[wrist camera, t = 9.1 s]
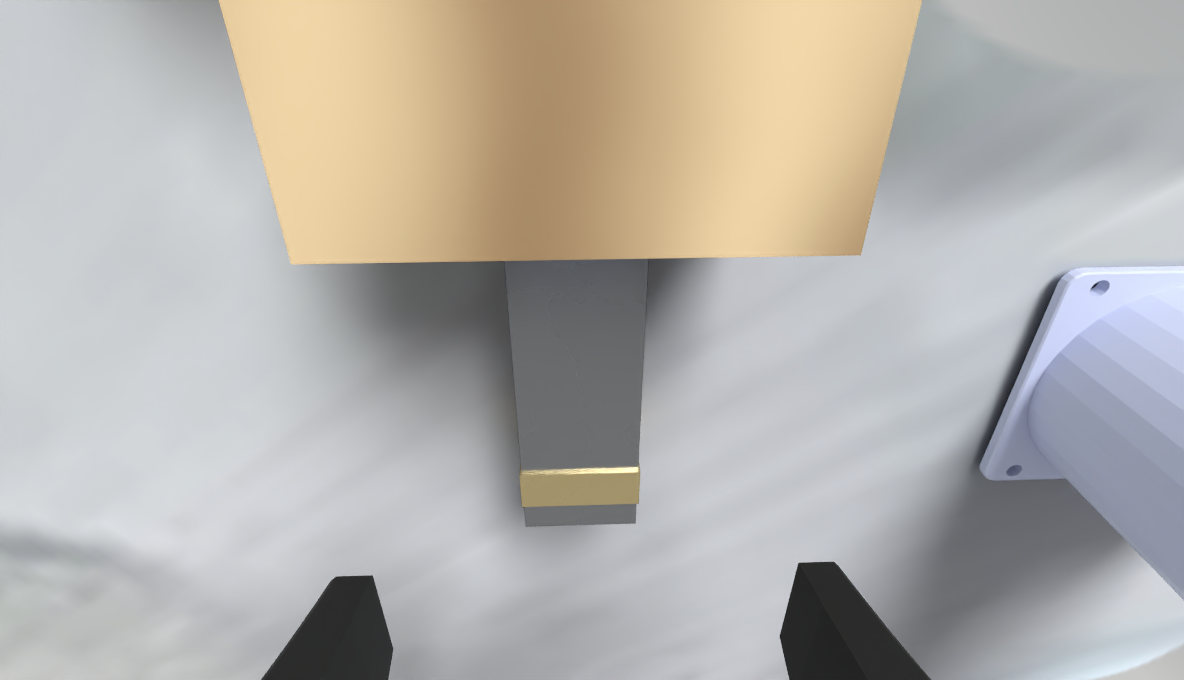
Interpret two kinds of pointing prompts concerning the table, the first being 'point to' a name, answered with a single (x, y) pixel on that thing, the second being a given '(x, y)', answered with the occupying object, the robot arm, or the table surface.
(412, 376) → the table surface
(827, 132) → the wooden u-shaped cradle
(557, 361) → the dark grey bar
